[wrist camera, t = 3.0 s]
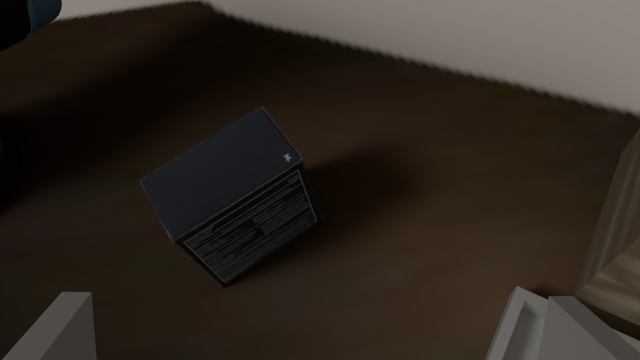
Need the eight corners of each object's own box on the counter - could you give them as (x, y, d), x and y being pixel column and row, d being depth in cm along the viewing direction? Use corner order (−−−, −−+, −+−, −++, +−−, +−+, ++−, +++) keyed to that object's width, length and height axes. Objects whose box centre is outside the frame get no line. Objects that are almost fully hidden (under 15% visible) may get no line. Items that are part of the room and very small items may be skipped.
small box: (288, 170, 46) (262, 99, 37) (327, 221, 43) (308, 159, 34) (188, 232, 44) (135, 175, 35) (221, 291, 41) (172, 245, 32)
